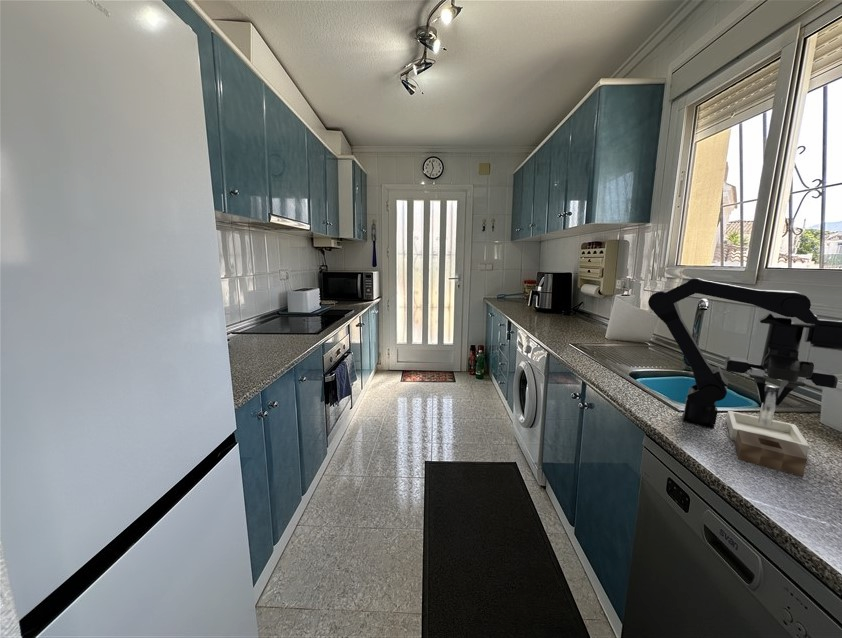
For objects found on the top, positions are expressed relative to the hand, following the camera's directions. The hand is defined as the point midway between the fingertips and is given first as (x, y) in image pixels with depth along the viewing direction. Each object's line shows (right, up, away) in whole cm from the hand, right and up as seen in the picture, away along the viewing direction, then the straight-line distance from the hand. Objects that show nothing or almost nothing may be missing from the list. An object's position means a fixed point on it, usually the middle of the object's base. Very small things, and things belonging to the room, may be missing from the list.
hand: (768, 403), depth 86 cm
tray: (0, -9, +2) cm, 9 cm away
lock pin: (0, -5, +1) cm, 6 cm away
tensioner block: (-9, -11, -8) cm, 16 cm away
